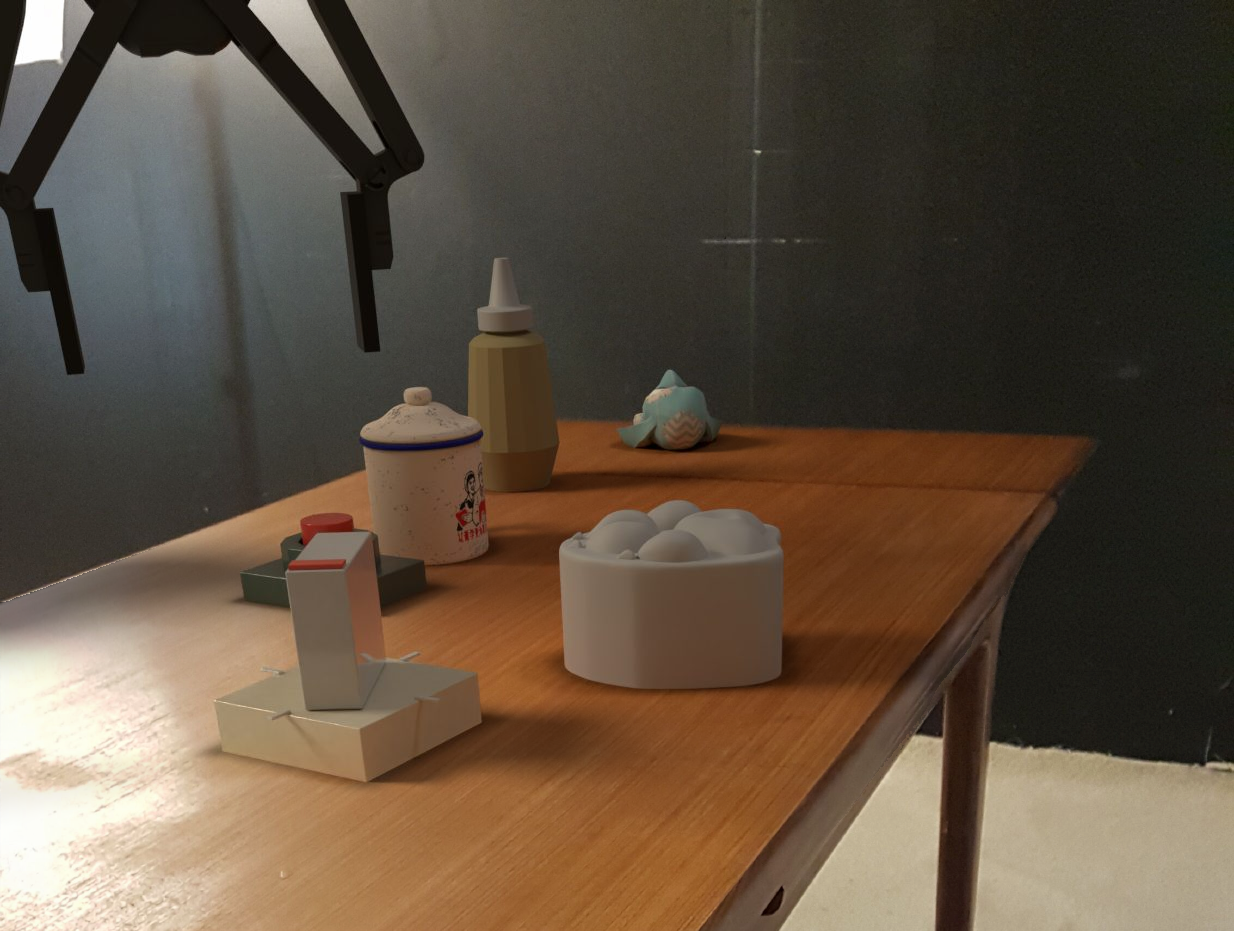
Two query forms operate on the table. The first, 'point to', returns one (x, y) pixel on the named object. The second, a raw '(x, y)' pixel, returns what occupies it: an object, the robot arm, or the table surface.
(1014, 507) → the table surface
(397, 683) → the panel
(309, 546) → the tap lever
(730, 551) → the lumpy-topped squat cylinder
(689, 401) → the stuffed animal
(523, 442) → the squeeze bottle
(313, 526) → the red button
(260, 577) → the button box
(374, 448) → the teacup with lid
